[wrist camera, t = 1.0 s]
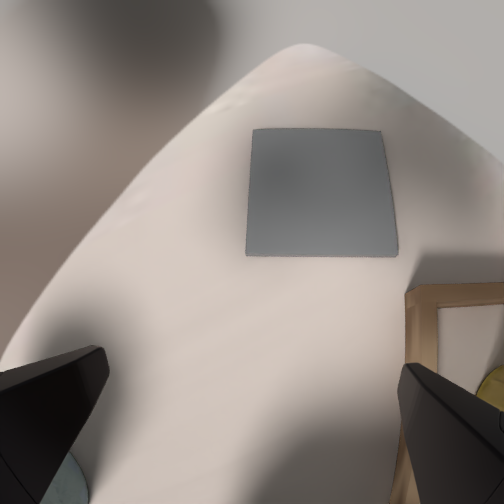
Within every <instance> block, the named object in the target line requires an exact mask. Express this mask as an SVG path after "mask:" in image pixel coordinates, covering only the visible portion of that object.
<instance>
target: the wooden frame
mask: <svg viewBox="0 0 504 504" xmlns="http://www.w3.org/2000/svg"><path fill="white" fill-rule="evenodd" d="M497 304H504V282H498V283H470V284H432V285H419V286H418V287H416V288H414V289H413V290H411V291H409V292H408V293H406V294H405V363H414V362H418V363H420V364H421V365H423V366H425V367H427V368H428V369H430V370H432V371H433V372H435V373H437V355H438V328H437V308H451V307H468V306H483V305H497ZM389 504H420V500H419V495H418V491H417V486H416V482H415V478H414V473H413V469H412V465H411V461H410V457H409V453H408V450H407V446H406V442H405V438H404V432H403V426H402V420H401V430H400V439H399V447H398V455H397V462H396V468H395V475H394V481H393V486H392V492H391V497H390V502H389Z"/></svg>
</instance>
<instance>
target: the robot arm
mask: <svg viewBox="0 0 504 504" xmlns="http://www.w3.org/2000/svg"><path fill="white" fill-rule="evenodd" d="M109 373H110V369H109V365H108V361H107V357H106V353H105V350H104V348H102V347H100V346H94V345H91V346H88V347H84V348H81V349H78V350H75V351H71V352H68V353H65V354H62V355H58V356H55V357H52V358H48V359H45V360H41V361H38V362H35V363H31V364H28V365H24V366H21V367H17V368H14V369H10V370H7V371H4V372H0V504H40V503H41V501H42V499H43V497H44V495H45V493H46V492H47V490H48V488H49V486H50V484H51V482H52V481H53V479H54V477H55V475H56V473H57V471H58V470H59V468H60V466H61V464H62V463H63V461H64V459H65V457H66V455H67V454H68V452H69V450H70V448H71V447H72V445H73V443H74V442H75V440H76V438H77V436H78V435H79V433H80V431H81V430H82V428H83V426H84V424H85V423H86V421H87V419H88V418H89V416H90V414H91V413H92V411H93V409H94V407H95V405H96V403H97V400H98V398H99V396H100V394H101V392H102V390H103V387H104V385H105V383H106V381H107V379H108V377H109ZM397 392H398V400H399V406H400V412H401V419H402V426H403V432H404V438H405V442H406V446H407V450H408V453H409V457H410V461H411V465H412V469H413V473H414V478H415V482H416V486H417V491H418V495H419V500H420V504H504V412H503V411H500V409H498V408H496V407H494V406H493V405H491V404H489V403H487V402H486V401H484V400H482V399H480V398H479V397H477V396H475V395H473V394H472V393H470V392H468V391H466V390H465V389H463V388H461V387H459V386H458V385H456V384H454V383H452V382H451V381H449V380H447V379H446V378H444V377H442V376H440V375H439V374H437V373H435V372H433V371H432V370H430V369H428V368H427V367H425V366H423V365H421V364H420V363H418V362H414V363H405V364H404V365H403V368H402V372H401V376H400V380H399V384H398V391H397Z"/></svg>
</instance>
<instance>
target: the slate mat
mask: <svg viewBox="0 0 504 504" xmlns="http://www.w3.org/2000/svg"><path fill="white" fill-rule="evenodd" d="M245 254H246V256H291V257H396V256H397V255H398V248H397V237H396V227H395V218H394V210H393V202H392V195H391V188H390V181H389V175H388V169H387V163H386V157H385V152H384V146H383V141H382V136H381V131H369V130H348V129H257V130H253V136H252V152H251V168H250V184H249V200H248V216H247V233H246V250H245Z"/></svg>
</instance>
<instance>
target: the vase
mask: <svg viewBox="0 0 504 504" xmlns="http://www.w3.org/2000/svg"><path fill="white" fill-rule="evenodd" d="M476 396H477V397H479V398H480V399H482V400H484V401H486V402H487V403H489V404H491V405H493V406H494V407H496V408H498V409H500V411H503V412H504V365H502V366H500V367H498V368H496V369H495V370H494V371H492V372H491V373H490V374H489V375H488V376H487V378H486V379H485V380H484V381H483V383H482V385H481V386H480V388H479V390H478V393H477V395H476Z"/></svg>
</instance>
